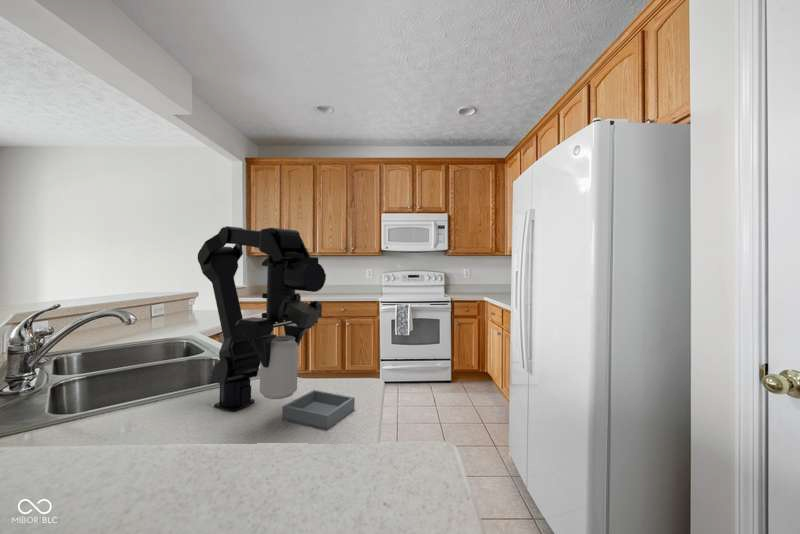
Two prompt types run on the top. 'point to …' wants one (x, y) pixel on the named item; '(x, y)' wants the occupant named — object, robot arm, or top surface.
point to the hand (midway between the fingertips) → (279, 362)
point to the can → (280, 369)
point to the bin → (318, 409)
